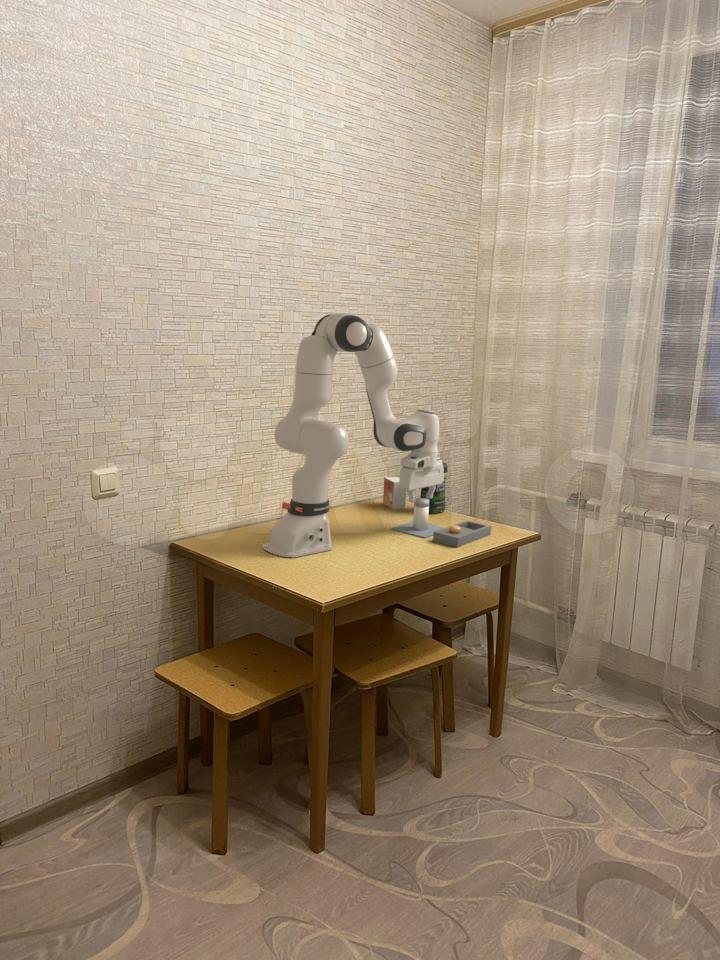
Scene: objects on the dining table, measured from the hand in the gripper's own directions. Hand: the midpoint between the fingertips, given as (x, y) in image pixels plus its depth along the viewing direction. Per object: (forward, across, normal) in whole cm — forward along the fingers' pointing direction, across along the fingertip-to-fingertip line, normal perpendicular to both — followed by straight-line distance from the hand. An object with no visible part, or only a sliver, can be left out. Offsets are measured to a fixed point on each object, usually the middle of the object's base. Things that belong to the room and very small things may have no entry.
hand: (420, 500), depth 248 cm
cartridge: (+10, -1, 0) cm, 10 cm away
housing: (+10, -4, +15) cm, 19 cm away
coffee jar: (+10, -23, -11) cm, 27 cm away
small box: (+10, -18, -25) cm, 32 cm away
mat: (+10, -1, 0) cm, 10 cm away
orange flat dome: (+7, +1, +15) cm, 17 cm away
